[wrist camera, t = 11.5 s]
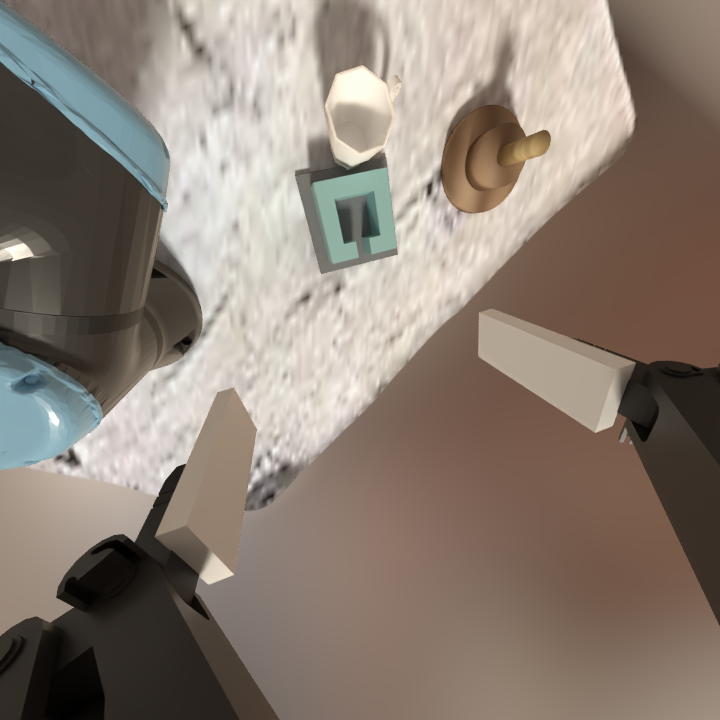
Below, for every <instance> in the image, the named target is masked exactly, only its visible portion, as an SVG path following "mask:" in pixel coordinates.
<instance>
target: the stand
mask: <svg viewBox="0 0 720 720" xmlns="http://www.w3.org/2000/svg"><path fill="white" fill-rule="evenodd" d="M550 141H551V137H550V134H549V132H548V131H546V130H542V131H540V132H537V133H535V134H532V135H530V136H527V137H526V135H525V133H524V131H523V129H522V128H521V127H520V125H519V122H518V121H517V119H516V117H515V116H514V115H513V114H512V113H511V112H510V111H509V110H508V109H506V108H504V107H502V106H499V105H487V106H484V107H481V108H479V109H477V110H476V111H474V112H472V113H471V114H469V115H468V116H467V117H465V118H464V119H463V120H462V121H461V122H460V123H459V124H458V125H457V126H456V127H455V129H454V130H453V132H452V133H451V135H450V137H449V139H448V141H447V144H446V146H445V149H444V153H443V158H442V165H441V177H442V184H443V188H444V191H445V194H446V196H447V198H448V199H449V201H450V202H451V203H452V205H453V206H455V207H456V208H457V209H459V210H460V211H463V212H466V213H480V212H485V211H488V210H491V209H493V208H495V207H496V206H498V205H499V204H500V203H501V202H502V201H503V200H504V199H505V198H506V197H507V196H508V195H509V193H510V192H511V190H512V189H513V187H514V185H515V184H516V182H517V179H518V177H519V174H520V172H521V170H522V168H523V166H524V164H525V160H528V159H532V158H535V157H538V156H541V155H543V154H545V153H546V151H547V150H548V148H549V146H550Z"/></svg>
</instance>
